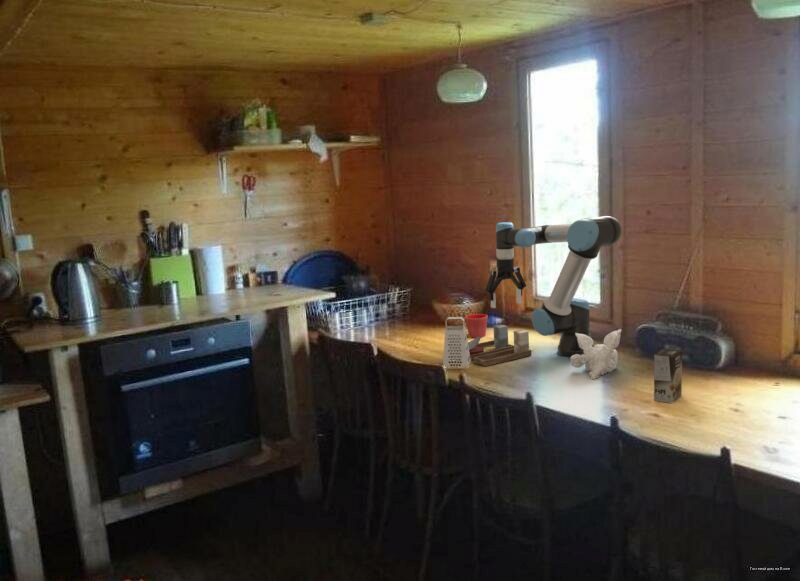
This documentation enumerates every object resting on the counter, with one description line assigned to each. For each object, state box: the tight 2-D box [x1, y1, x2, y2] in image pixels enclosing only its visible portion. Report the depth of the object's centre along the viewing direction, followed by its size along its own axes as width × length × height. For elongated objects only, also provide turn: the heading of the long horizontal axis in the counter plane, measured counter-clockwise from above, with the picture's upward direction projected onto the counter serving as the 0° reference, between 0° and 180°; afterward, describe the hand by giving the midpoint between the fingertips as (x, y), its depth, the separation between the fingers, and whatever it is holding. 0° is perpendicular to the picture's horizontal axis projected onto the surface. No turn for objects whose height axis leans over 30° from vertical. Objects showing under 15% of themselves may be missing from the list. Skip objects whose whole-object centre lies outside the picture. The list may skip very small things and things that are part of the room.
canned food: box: [468, 336, 485, 355], centre depth 313 cm, size 11×10×10 cm
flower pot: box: [464, 313, 489, 339], centre depth 345 cm, size 11×11×10 cm
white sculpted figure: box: [569, 328, 622, 380], centre depth 278 cm, size 19×20×20 cm
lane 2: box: [472, 329, 532, 367], centre depth 303 cm, size 8×24×10 cm, turn 120°
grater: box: [442, 316, 472, 369], centre depth 298 cm, size 10×10×20 cm
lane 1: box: [468, 323, 514, 361], centre depth 315 cm, size 14×24×10 cm, turn 120°
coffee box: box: [653, 348, 683, 404], centre depth 243 cm, size 9×6×16 cm
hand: (506, 305), depth 320 cm, fingers open, 13 cm apart
